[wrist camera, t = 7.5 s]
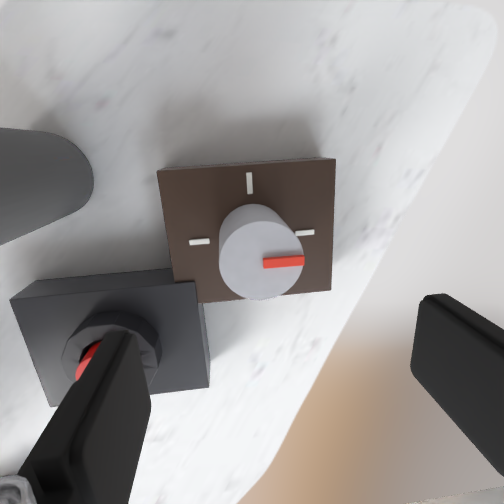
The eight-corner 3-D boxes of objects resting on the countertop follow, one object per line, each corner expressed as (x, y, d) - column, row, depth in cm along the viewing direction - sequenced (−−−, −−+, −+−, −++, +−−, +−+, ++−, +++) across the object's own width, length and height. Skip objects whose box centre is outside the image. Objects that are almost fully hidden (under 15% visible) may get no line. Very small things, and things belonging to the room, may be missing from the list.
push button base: (68, 378, 27) (37, 427, 22) (35, 280, 24) (-11, 313, 19) (210, 362, 28) (208, 405, 23) (197, 265, 25) (192, 293, 20)
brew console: (182, 288, 25) (178, 307, 22) (164, 167, 22) (155, 171, 19) (319, 275, 26) (332, 291, 23) (322, 157, 23) (337, 158, 20)
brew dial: (222, 270, 22) (222, 306, 17) (216, 206, 20) (215, 225, 15) (285, 265, 22) (304, 299, 17) (285, 201, 21) (306, 218, 16)
